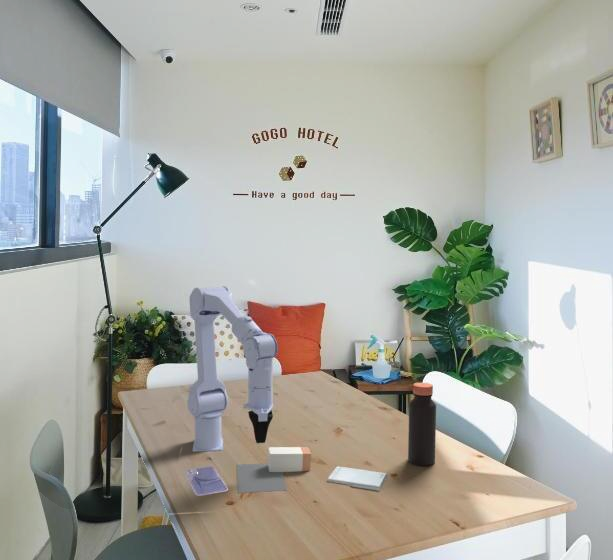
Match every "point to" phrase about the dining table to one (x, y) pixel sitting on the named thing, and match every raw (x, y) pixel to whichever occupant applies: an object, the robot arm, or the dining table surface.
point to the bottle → (422, 426)
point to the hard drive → (358, 478)
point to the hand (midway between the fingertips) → (260, 442)
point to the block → (289, 459)
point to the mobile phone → (205, 481)
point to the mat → (259, 479)
